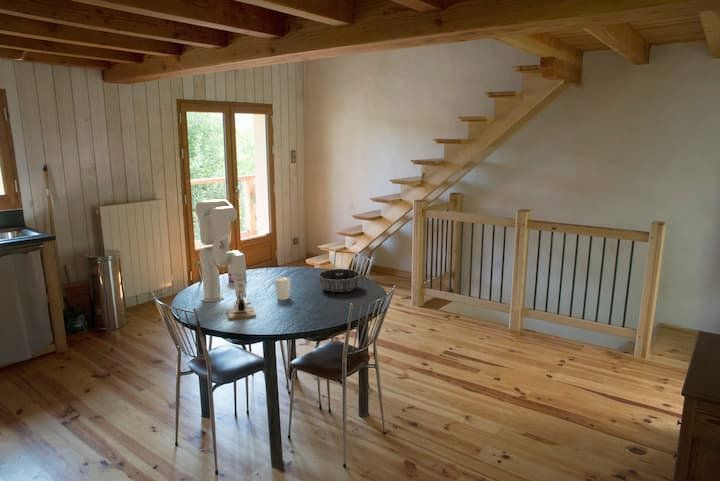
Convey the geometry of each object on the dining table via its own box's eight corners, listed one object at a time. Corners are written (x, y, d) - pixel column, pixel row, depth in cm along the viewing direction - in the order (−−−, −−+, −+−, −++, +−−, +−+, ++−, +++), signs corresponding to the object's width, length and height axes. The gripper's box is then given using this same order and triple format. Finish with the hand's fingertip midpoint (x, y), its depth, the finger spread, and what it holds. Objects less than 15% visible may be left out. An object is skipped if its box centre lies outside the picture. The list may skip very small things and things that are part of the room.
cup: (276, 301, 293) (275, 281, 291) (275, 296, 302) (274, 277, 299) (291, 299, 295) (290, 280, 292) (290, 295, 303) (289, 276, 301)
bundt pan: (360, 295, 302) (359, 279, 300) (316, 295, 303) (316, 279, 301) (360, 283, 328) (360, 268, 326) (320, 283, 329) (320, 268, 327)
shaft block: (226, 312, 274) (226, 301, 273) (252, 309, 279) (251, 298, 277) (229, 320, 261) (228, 308, 260) (256, 317, 266) (255, 305, 264)
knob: (235, 311, 265) (234, 304, 264) (234, 308, 271) (233, 301, 270) (251, 309, 268) (250, 302, 267) (249, 306, 274) (249, 299, 273)
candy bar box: (247, 281, 334) (245, 258, 331) (243, 283, 330) (241, 259, 326) (232, 280, 338) (230, 257, 334) (228, 282, 333) (226, 258, 330)
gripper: (248, 279, 259) (250, 312, 262) (244, 271, 275) (246, 303, 278) (233, 281, 256) (235, 314, 260) (230, 273, 272) (232, 304, 276)
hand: (240, 308), depth 269 cm, fingers closed on knob, 6 cm apart
